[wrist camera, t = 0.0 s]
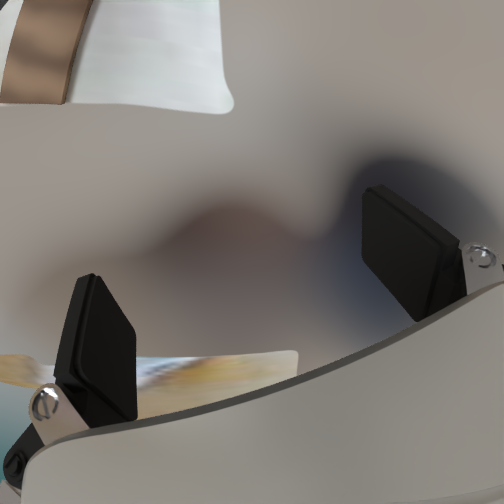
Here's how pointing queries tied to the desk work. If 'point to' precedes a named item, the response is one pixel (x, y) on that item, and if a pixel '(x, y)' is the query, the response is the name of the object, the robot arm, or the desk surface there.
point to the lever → (2, 3)
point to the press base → (43, 51)
